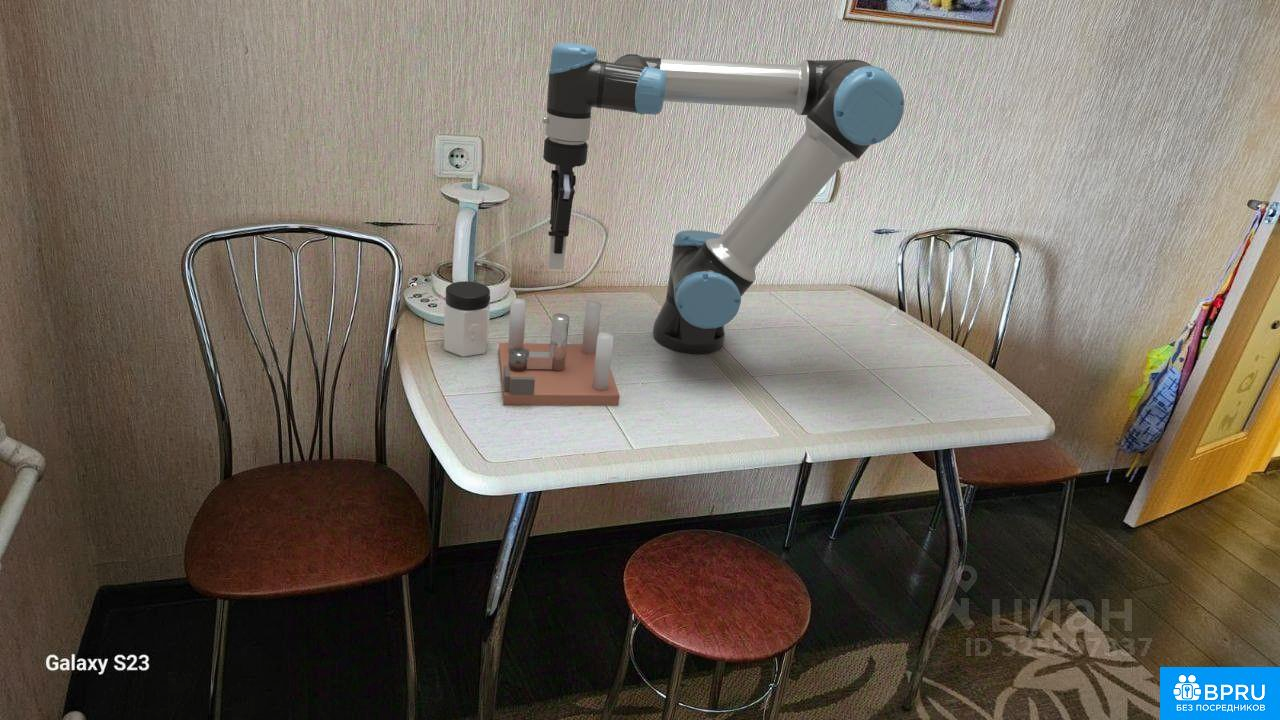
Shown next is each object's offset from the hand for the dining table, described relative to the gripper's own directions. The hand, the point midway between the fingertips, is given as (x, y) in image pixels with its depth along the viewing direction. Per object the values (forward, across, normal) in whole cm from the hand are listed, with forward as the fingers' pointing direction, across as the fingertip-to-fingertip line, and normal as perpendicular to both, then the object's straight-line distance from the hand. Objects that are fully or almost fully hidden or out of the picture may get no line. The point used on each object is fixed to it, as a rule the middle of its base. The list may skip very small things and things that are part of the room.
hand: (555, 267), depth 151 cm
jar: (+18, -2, -16) cm, 24 cm away
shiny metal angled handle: (+15, +10, -3) cm, 19 cm away
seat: (+18, +10, 0) cm, 20 cm away
